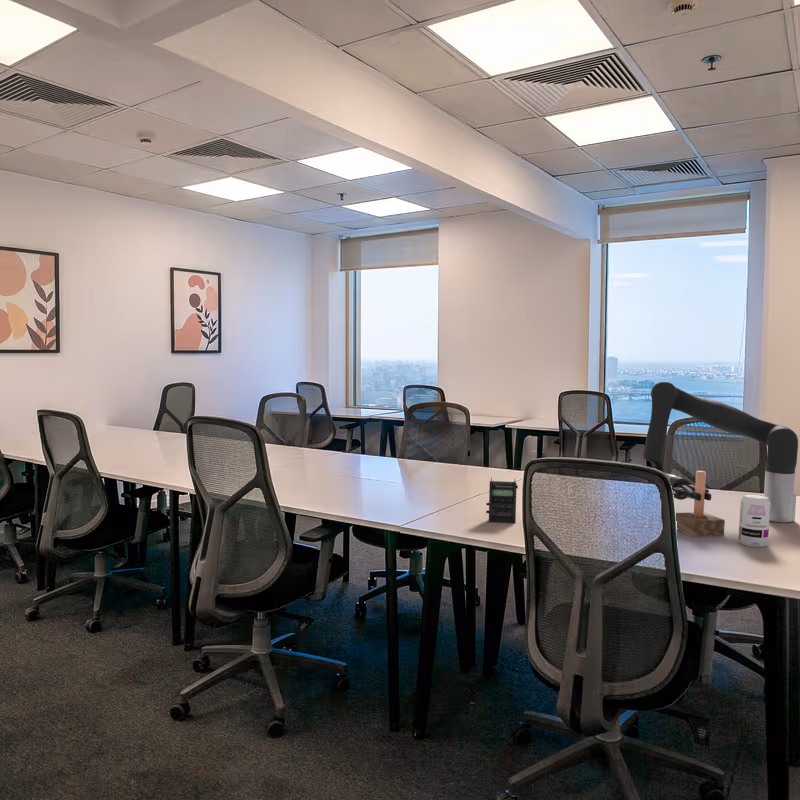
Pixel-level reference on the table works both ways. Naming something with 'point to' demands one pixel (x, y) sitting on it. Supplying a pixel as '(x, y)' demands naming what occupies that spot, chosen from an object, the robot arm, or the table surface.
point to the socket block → (700, 524)
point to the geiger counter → (502, 502)
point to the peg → (701, 490)
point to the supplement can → (754, 520)
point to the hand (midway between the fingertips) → (705, 497)
